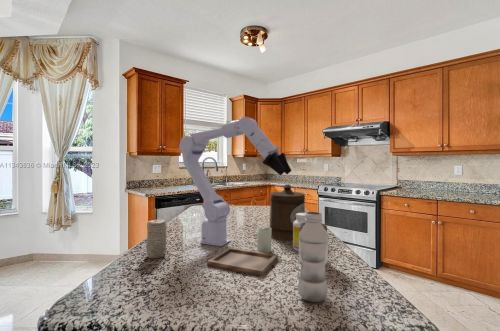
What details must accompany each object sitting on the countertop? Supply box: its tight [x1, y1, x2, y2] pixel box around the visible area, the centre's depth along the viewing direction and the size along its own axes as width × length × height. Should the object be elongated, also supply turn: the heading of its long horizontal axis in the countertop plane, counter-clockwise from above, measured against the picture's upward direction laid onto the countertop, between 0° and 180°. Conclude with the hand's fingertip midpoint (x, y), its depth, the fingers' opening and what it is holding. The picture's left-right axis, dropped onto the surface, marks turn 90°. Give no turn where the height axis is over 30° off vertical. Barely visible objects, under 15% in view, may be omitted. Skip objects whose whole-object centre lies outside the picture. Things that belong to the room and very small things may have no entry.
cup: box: [256, 226, 272, 254], centre depth 94 cm, size 5×5×8 cm
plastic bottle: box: [297, 211, 329, 303], centre depth 61 cm, size 6×7×20 cm
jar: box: [298, 222, 329, 266], centre depth 83 cm, size 9×8×12 cm
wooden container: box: [269, 184, 306, 241], centre depth 113 cm, size 15×15×22 cm
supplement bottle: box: [292, 212, 306, 252], centre depth 96 cm, size 7×7×13 cm
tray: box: [206, 246, 279, 278], centre depth 83 cm, size 18×14×2 cm
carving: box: [145, 218, 168, 260], centre depth 88 cm, size 6×8×12 cm
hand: (286, 172), depth 91 cm, fingers open, 7 cm apart
